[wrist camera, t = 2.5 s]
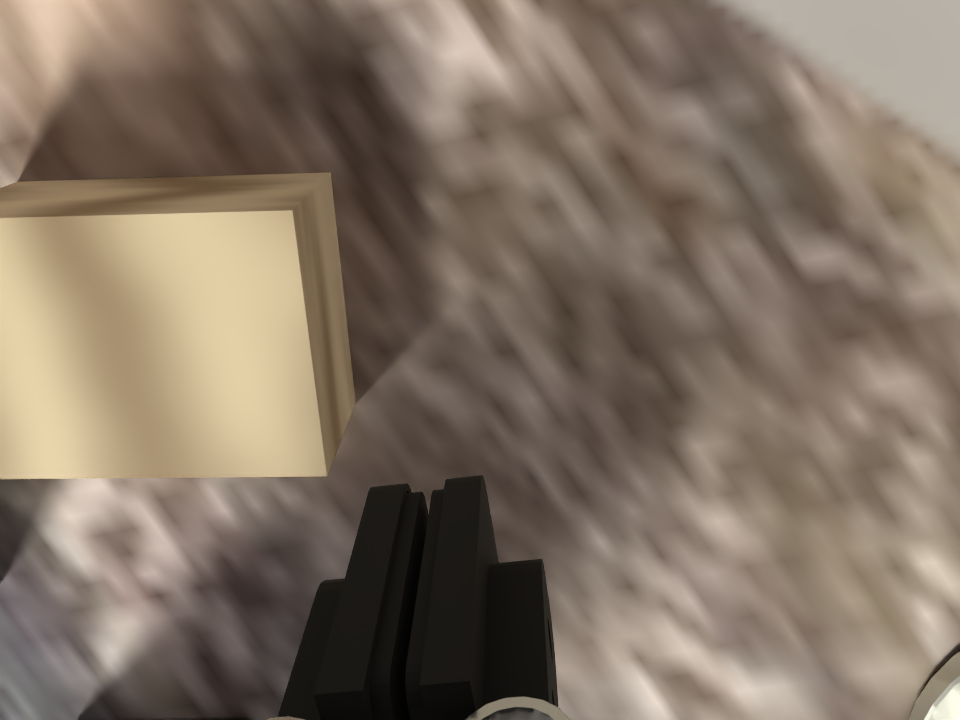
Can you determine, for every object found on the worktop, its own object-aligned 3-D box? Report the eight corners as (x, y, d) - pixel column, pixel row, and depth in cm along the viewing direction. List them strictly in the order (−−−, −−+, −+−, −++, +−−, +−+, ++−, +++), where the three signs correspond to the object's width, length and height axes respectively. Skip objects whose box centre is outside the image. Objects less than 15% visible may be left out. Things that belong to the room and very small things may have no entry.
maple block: (331, 171, 26) (292, 210, 22) (356, 400, 30) (326, 476, 25) (21, 179, 27) (-81, 220, 22) (79, 404, 30) (1, 479, 26)
